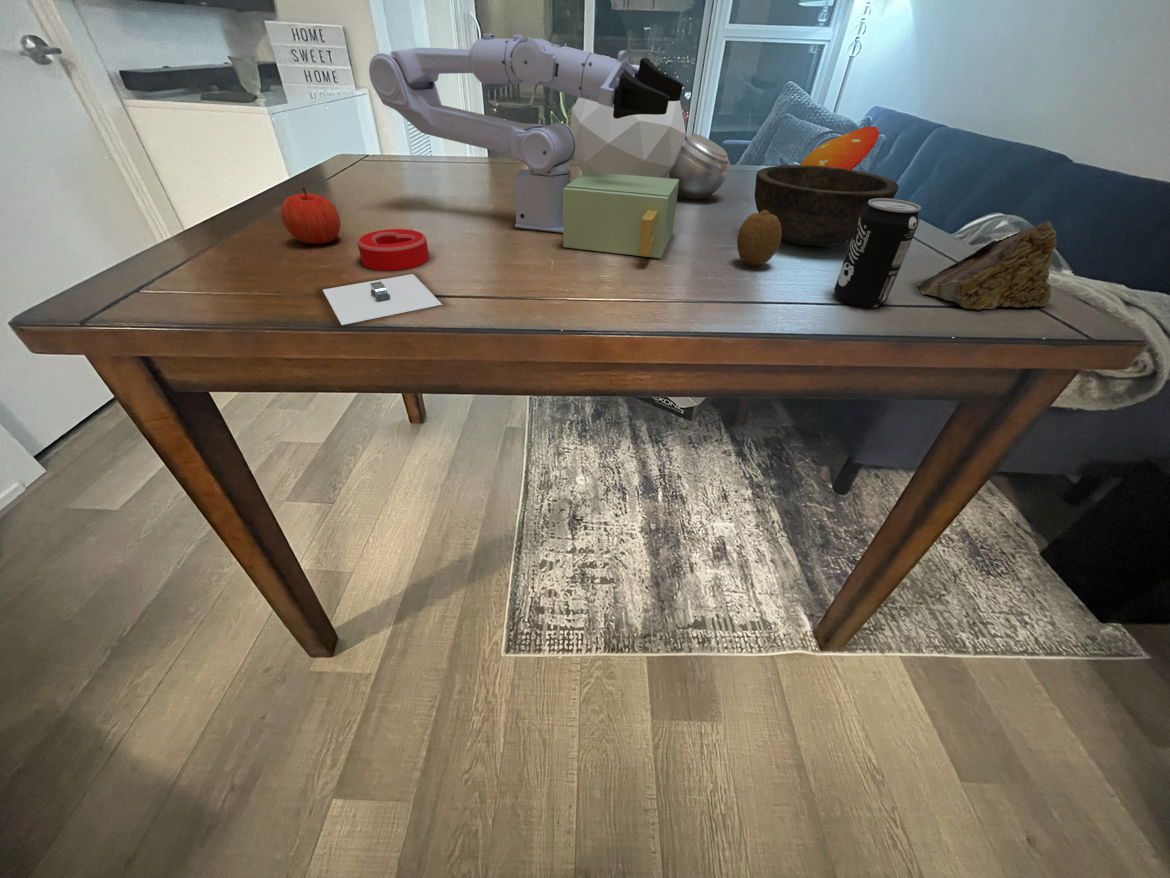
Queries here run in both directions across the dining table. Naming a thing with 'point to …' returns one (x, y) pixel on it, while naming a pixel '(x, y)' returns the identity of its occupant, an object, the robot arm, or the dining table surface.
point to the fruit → (759, 238)
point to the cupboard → (634, 190)
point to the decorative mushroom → (844, 149)
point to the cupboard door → (614, 222)
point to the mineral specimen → (1000, 273)
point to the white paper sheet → (379, 298)
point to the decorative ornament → (393, 249)
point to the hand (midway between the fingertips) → (674, 98)
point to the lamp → (647, 147)
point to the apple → (310, 218)
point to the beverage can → (876, 251)
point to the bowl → (818, 200)
